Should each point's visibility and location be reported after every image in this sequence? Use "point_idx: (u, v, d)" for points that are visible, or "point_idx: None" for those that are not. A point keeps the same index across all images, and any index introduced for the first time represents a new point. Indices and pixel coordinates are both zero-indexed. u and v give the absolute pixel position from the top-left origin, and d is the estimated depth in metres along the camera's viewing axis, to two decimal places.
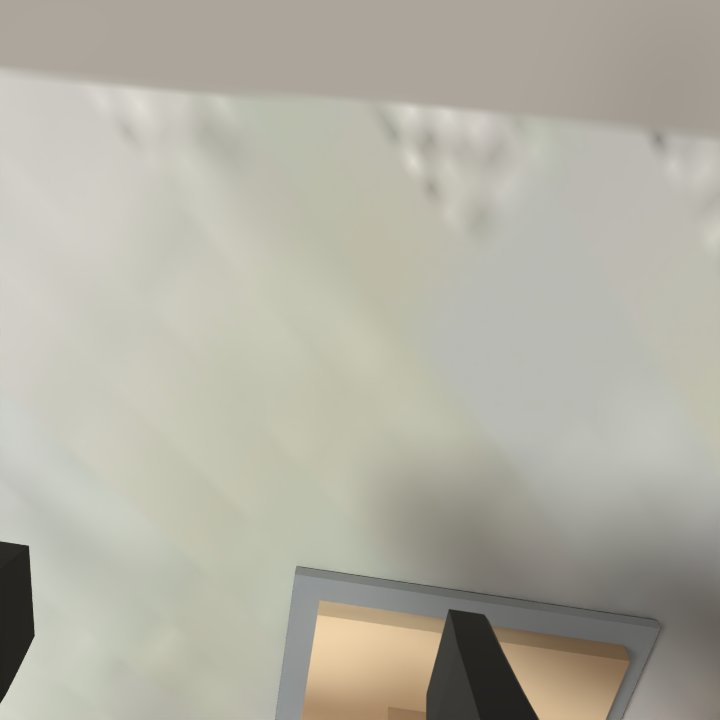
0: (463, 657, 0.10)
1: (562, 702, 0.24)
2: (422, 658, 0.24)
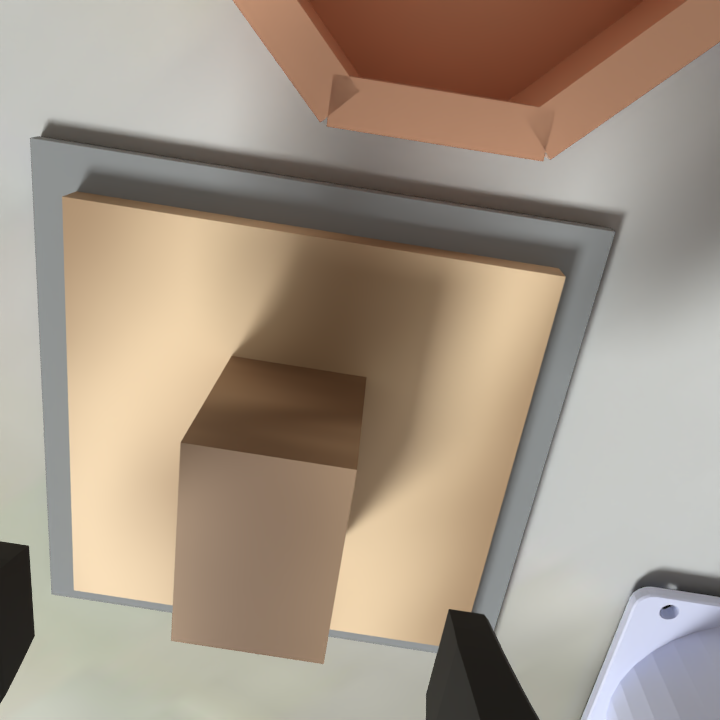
0: (463, 657, 0.10)
1: (170, 290, 0.15)
2: (120, 481, 0.17)
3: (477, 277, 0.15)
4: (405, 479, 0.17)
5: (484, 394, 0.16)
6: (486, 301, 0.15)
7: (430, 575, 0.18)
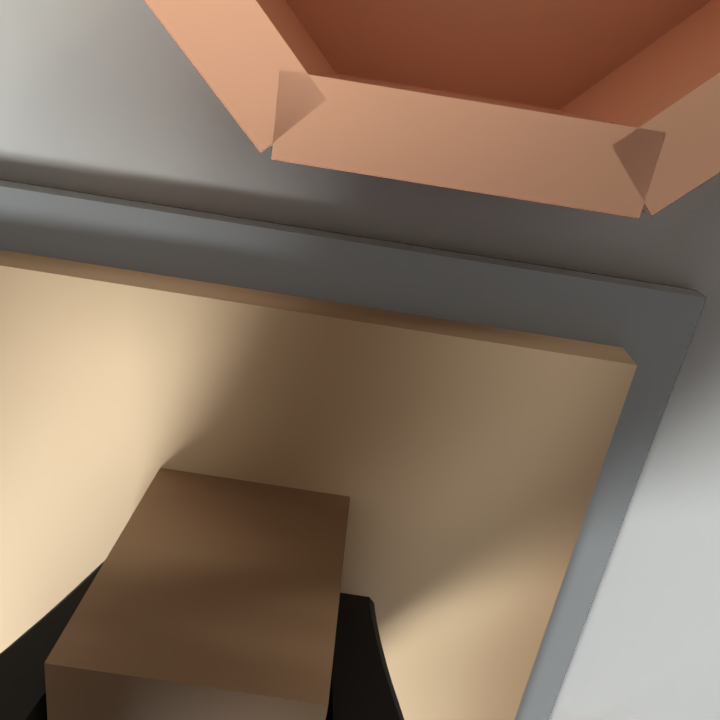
0: None
1: (69, 380, 0.11)
2: (17, 624, 0.13)
3: (508, 365, 0.10)
4: (404, 625, 0.12)
5: (515, 520, 0.11)
6: (521, 398, 0.10)
7: None
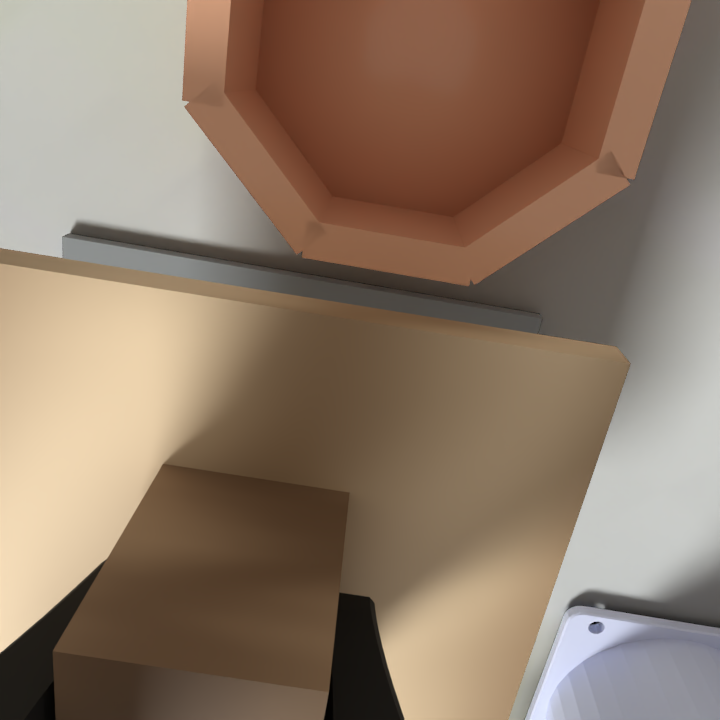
0: None
1: (74, 377, 0.11)
2: (22, 618, 0.13)
3: (505, 363, 0.10)
4: (402, 620, 0.12)
5: (511, 516, 0.11)
6: (517, 395, 0.11)
7: None
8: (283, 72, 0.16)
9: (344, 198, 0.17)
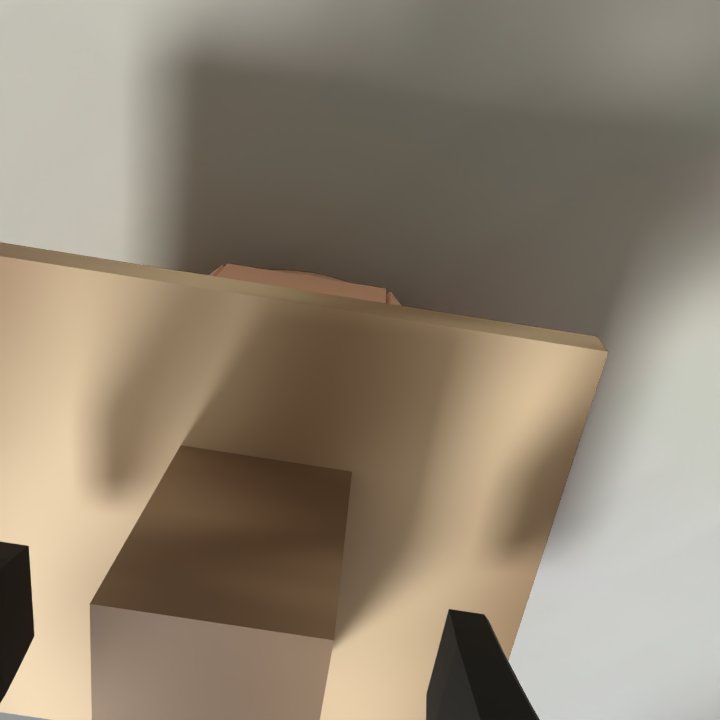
0: (463, 657, 0.10)
1: (100, 366, 0.12)
2: (49, 590, 0.14)
3: (494, 351, 0.11)
4: (401, 591, 0.13)
5: (501, 492, 0.12)
6: (505, 381, 0.11)
7: None
8: None
9: None
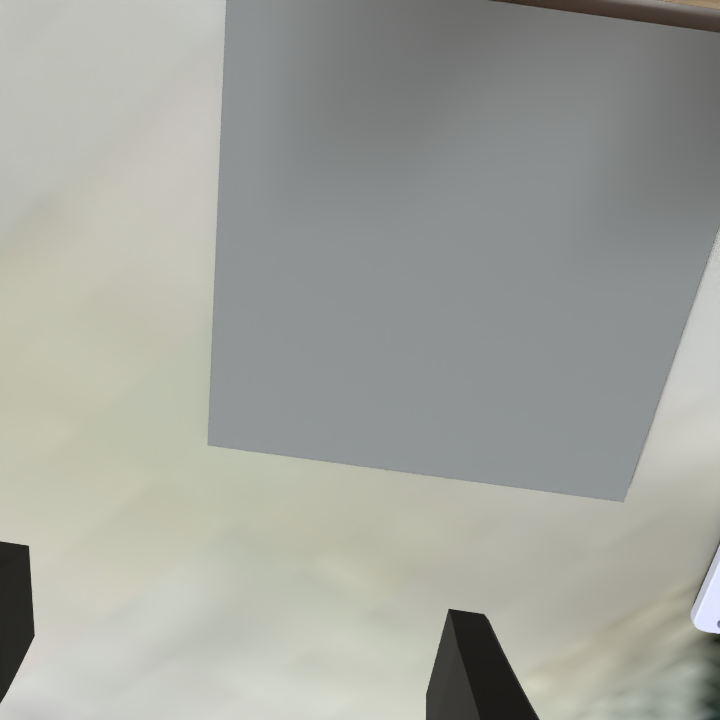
0: (463, 657, 0.10)
1: None
2: None
3: None
4: None
5: None
6: None
7: None
8: None
9: None
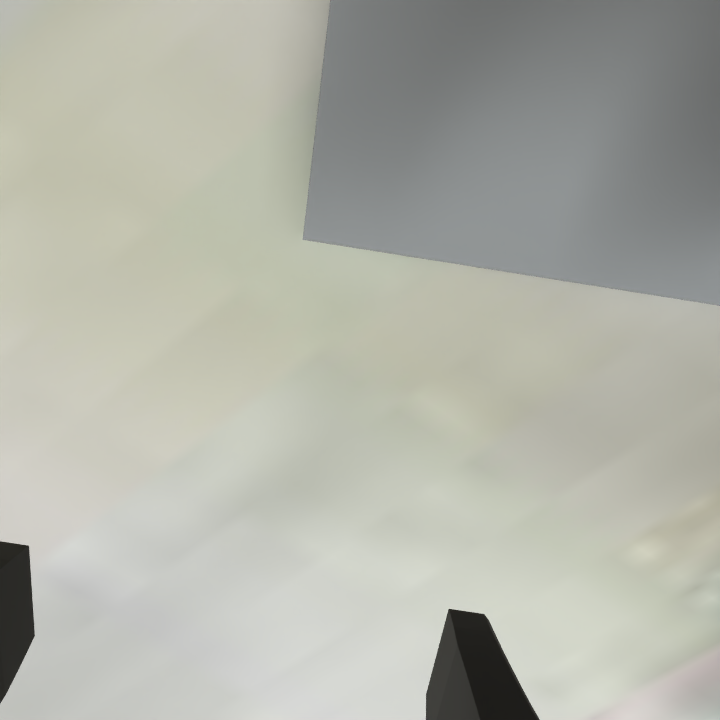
0: (463, 657, 0.10)
1: None
2: None
3: None
4: None
5: None
6: None
7: None
8: None
9: None
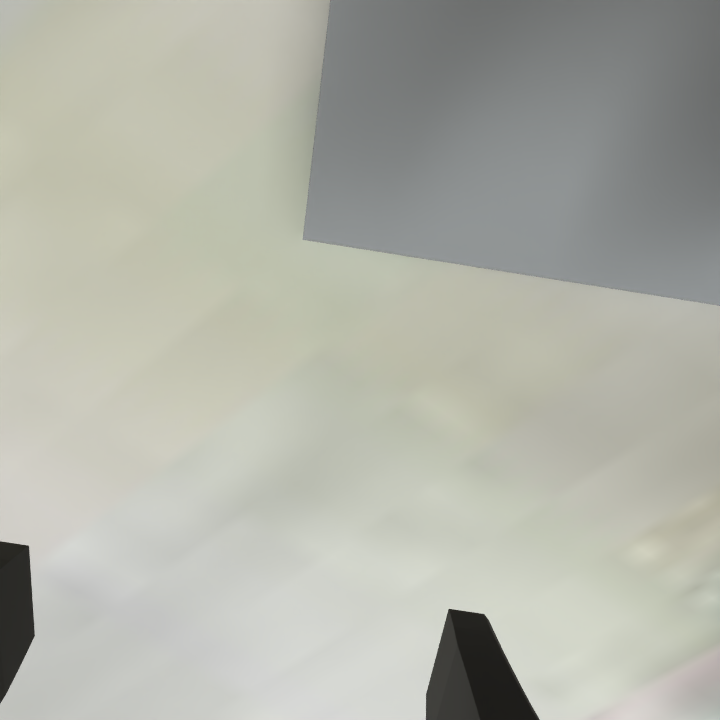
0: (463, 657, 0.10)
1: None
2: None
3: None
4: None
5: None
6: None
7: None
8: None
9: None
